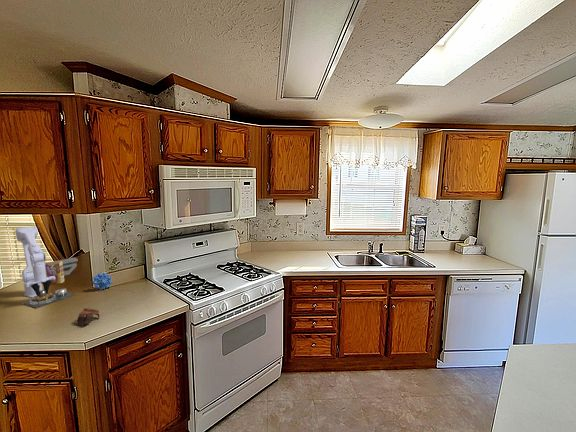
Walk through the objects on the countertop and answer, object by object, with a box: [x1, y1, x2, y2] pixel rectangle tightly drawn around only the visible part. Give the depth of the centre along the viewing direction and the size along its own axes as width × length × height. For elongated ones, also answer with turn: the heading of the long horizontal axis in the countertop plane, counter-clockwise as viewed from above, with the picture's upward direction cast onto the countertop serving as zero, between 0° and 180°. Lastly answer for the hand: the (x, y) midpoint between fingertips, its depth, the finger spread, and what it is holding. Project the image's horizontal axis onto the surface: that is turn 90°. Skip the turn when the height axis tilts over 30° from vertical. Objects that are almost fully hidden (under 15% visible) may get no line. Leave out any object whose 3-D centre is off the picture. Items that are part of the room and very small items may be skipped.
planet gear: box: [33, 289, 53, 301], centre depth 175 cm, size 8×8×4 cm
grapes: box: [91, 272, 113, 291], centre depth 193 cm, size 12×7×12 cm, turn 139°
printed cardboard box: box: [45, 257, 79, 277], centre depth 223 cm, size 25×8×11 cm, turn 143°
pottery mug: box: [76, 307, 100, 327], centre depth 150 cm, size 12×10×8 cm
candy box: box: [45, 261, 65, 285], centre depth 207 cm, size 9×4×15 cm, turn 99°
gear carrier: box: [23, 287, 75, 309], centre depth 178 cm, size 13×20×4 cm, turn 157°
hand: (42, 294), depth 175 cm, fingers closed on planet gear, 3 cm apart
